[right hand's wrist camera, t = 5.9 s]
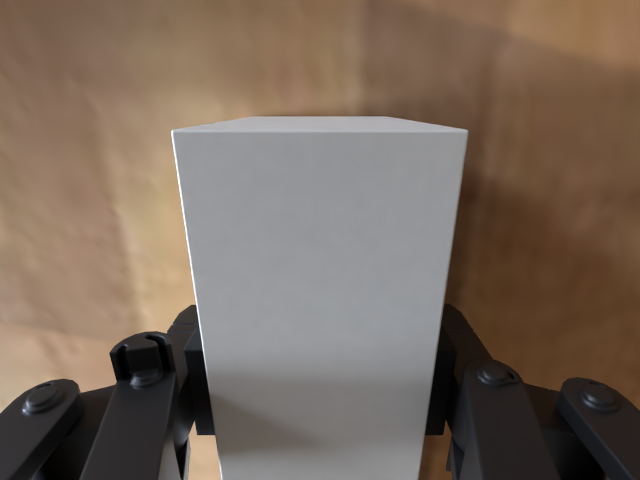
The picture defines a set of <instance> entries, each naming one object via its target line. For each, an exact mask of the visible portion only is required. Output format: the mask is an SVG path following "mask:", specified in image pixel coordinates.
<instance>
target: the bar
mask: <svg viewBox="0 0 640 480" xmlns="http://www.w3.org/2000/svg"><path fill="white" fill-rule="evenodd" d="M468 135H469V131H468V130H465V129H459V128H453V127H447V126H441V125H435V124H429V123H423V122H417V121H411V120H405V119H399V118H393V117H387V116H253V117H247V118H241V119H235V120H229V121H223V122H217V123H211V124H205V125H199V126H193V127H187V128H181V129H175V130H172V140H173V147H174V154H175V160H176V167H177V174H178V181H179V188H180V195H181V202H182V209H183V216H184V223H185V229H186V236H187V243H188V250H189V257H190V264H191V271H192V278H193V285H194V291H195V298H196V305H197V312H198V319H199V326H200V333H201V340H202V347H203V354H204V360H205V367H206V374H207V381H208V388H209V395H210V402H211V409H212V416H213V423H214V429H215V436H216V443H217V450H218V457H219V464H220V471H221V478H222V480H418V479H419V472H420V465H421V458H422V451H423V445H424V438H425V431H426V424H427V417H428V410H429V403H430V396H431V390H432V383H433V376H434V369H435V362H436V355H437V348H438V341H439V335H440V328H441V321H442V314H443V307H444V300H445V293H446V286H447V280H448V273H449V266H450V259H451V252H452V245H453V238H454V231H455V225H456V218H457V211H458V204H459V197H460V190H461V183H462V176H463V170H464V163H465V156H466V149H467V142H468Z"/></svg>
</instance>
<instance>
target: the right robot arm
mask: <svg viewBox="0 0 640 480" xmlns="http://www.w3.org/2000/svg"><path fill="white" fill-rule="evenodd" d="M109 354H110V357H111V361H112V365H113V369H114V373H115V376H116V380H117V383H116V385H112V386H109V387H105V388H101V389H97V390H92V391H88V392H83V393H80V389H79V386H78V384H77V383H75V382H74V381H73V380H68V379H59V380H51V381H48V382H45V383H42V384H39V385H37V386H35V387H33V388H31V389H29V390H28V391H26V392H24V393H23V394H21V395H20V396H19V397H18V398H16V399H15V400H14V401H13V402H12V403H11V404H10V405H9V406H8V407H7V408H6V409H5V410H4V411H3V412H1V413H0V480H188V472H189V461H190V450H191V449H190V442H189V437H188V435H189V433H190V430H191V428H192V425H193V423H194V420H195V425H196V431H197V435H215V429H214V423H213V416H212V409H211V402H210V395H209V388H208V381H207V374H206V367H205V360H204V354H203V347H202V340H201V333H200V326H199V319H198V312H197V305H190V306H189V307H188V308H186V309H185V310H183V311H182V312H181V313H179V315H178V316H177V318H176V319H175V321H174V322H173V325H171V327H170V328H169V330H168V331H167V334H165V333H161V332H157V331H155V332H143V333H139V334H135V335H133V336H130V337H128V338H126V339H124V340H122V341H121V342H120V343H118V344H117V345H115V346H114V348H113V349H112V350H111V352H110V353H109ZM445 421H447V423H448V426H449V428H450V431H451V433H452V437H451V442H450V448H449V453H448V459H447V465H446V471H450V470H451V471H452V480H609V479H610V480H640V411H639V410H638V409H637V408H636V407H635V406H634V405H633V404H632V403H631V402H630V401H629V400H628V399H626V398H625V397H624V396H623V395H621V394H620V393H619V392H617V391H616V390H614V389H612V388H610V387H609V386H607V385H605V384H603V383H600V382H597V381H594V380H591V379H585V378H578V377H577V378H570V379H567V380H566V381H565V382H564V383H563V384H562V387H561V390H560V392H559V391H554V390H550V389H546V388H541V387H537V386H533V385H529V384H526V383H524V382H523V380H522V379H521V377H520V376H519V374H518V373H517V372H516V371H514V370H513V369H512V368H511V367H509V366H507V365H505V364H503V363H501V362H499V361H496V360H493V359H492V357H491V356H490V354H489V353H488V351H487V350H486V348H485V347H484V345H483V344H482V342H481V341H480V339H479V338H478V337H477V335H476V334H475V332H473V329H472V328H471V326H470V325H469V324H468V322H467V320H466V319H465V317H464V316H463V314H462V313H461V312H460V311H458V310H457V309H456V308H454V307H453V306H451V305H450V304H444V307H443V314H442V321H441V328H440V335H439V341H438V348H437V355H436V362H435V369H434V376H433V383H432V390H431V396H430V403H429V410H428V417H427V424H426V431H425V435H443V432H444V426H445Z"/></svg>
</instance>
